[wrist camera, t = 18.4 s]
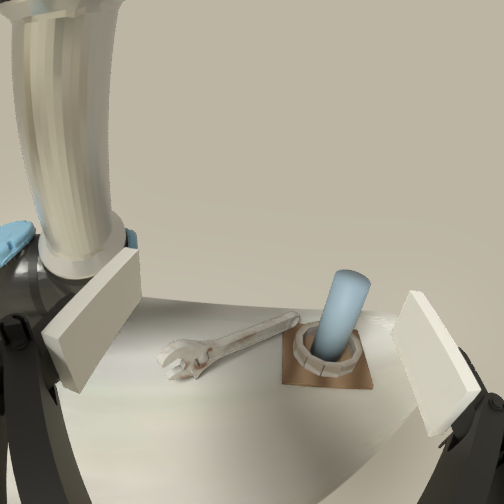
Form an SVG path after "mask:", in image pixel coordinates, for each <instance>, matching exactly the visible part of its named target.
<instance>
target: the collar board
mask: <svg viewBox="0 0 504 504" xmlns="http://www.w3.org/2000/svg"><path fill="white" fill-rule="evenodd" d="M319 322H320V321H318V322H317V321H316V322H312V323H308V324H300V323H298V324H297V325H296V326H295V327H293V328H291V329H288V330H286V331H284V332H283V364H282V384H290V385H301V386H312V387H327V388H346V389H372V388H373V383H372V379H371V376H370V372H369V368H368V365H367V361H366V358H365V354H364V351H363V347H362V344H361V341H360V337H359V334H358V331H357V330H354V329H353V331H352V333H351V336H350V338H349V340H348V343H347V345H346V347H345V349H344V352H343V354H342V356H341V358H340V360H339V361H338V362H325V361H323V360H321V359H319V358H317V357H315V356H313V355H311V352H310V348H311V345H312V343H313V340H314V337H315V334H316V331H317V328H318V325H319Z"/></svg>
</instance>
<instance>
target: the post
mask: <svg viewBox="0 0 504 504" xmlns="http://www.w3.org/2000/svg"><path fill="white" fill-rule="evenodd" d="M370 285H371V283H370V281H369V279H368V278H366V277H365V276H364V275H362V274H360V273H358V272H355V271H352V270H339V271H337V272H336V273H335V276H334V279H333V282H332V286H331V289H330V292H329V295H328V298H327V301H326V304H325V308H324V311H323V314H322V317H321V320H320V322H319V325H318V328H317V331H316V334H315V337H314V340H313V343H312V345H311V348H310V352H311V355H313V356H315V357H317V358H319V359H321V360H323V361H325V362H338V361H339V360H340V358H341V356H342V354H343V352H344V349H345V347H346V345H347V343H348V340H349V338H350V336H351V333H352V331H353V329H354V326H355V324H356V322H357V319H358V317H359V314H360V312H361V309H362V307H363V304H364V302H365V299H366V296H367V294H368V291H369V288H370Z"/></svg>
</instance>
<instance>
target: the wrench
mask: <svg viewBox="0 0 504 504" xmlns="http://www.w3.org/2000/svg"><path fill="white" fill-rule="evenodd" d="M299 320H300V315H298V314H297V313H295V312H294V311H290V312H288V313H286V314H283V315H281V316H278V317H276V318H273V319H271V320H268V321H266V322H263V323H261V324H258V325H255V326H253V327H250V328H248V329H245V330H242V331H240V332H237V333H234V334H232V335H229V336H226V337H223V338H221V339H218V340H212V341H194V340H186V339H180V340H176V341H174V342H171V343H169V344H168V345H167V346H166V347H164V348H163V349H162V350H161V352H160V353H159V354H158V357H157V362H158V363H159V364H160V366H161V367H162V368H164V367H166V366H167V365H169V364H170V363H172V362H173V361H175V360H176V359H178V358H180V359H182V361H181V364H180V365H178V366H176V367H175V368H173V369H171V370H170V371H169V372H167V373H166V377H167V378H168V379H169V380H179V379H185V378H187V377H190V376H193V377H194V378H195V379H197V378H198V376H199V375H200V374H201V372H202V371H203V370H205V369H206V368H207V367H208V366H209V365H211V364H212V363H213V362H215V361H216V360H218V359H219V358H221V357H224V356H226V355H229V354H231V353H234V352H236V351H239V350H241V349H244V348H246V347H248V346H251V345H253V344H256V343H258V342H261V341H263V340H265V339H268V338H270V337H272V336H274V335H277V334H279V333H281V332H284V331H286V330H288V329H291V328H293V327H295V326H296V325H297V324H298V322H299Z"/></svg>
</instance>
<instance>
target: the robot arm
mask: <svg viewBox="0 0 504 504" xmlns="http://www.w3.org/2000/svg"><path fill="white" fill-rule="evenodd" d="M124 1H125V0H0V13H1V14H2V15H4V16H5V17H7V18H8V19H9V20H10V22H11V23H12V76H13V77H12V79H13V92H14V103H15V112H16V119H17V126H18V133H19V139H20V144H21V149H22V155H23V160H24V164H25V169H26V173H27V177H28V181H29V185H30V189H31V193H32V197H33V200H34V204H35V207H36V210H37V214H38V217H39V220H40V223H41V226H42V229H43V230H42V232H41V234H35V233H36V229H35V227H34V225H33V223H32V222H27V221H16V222H12V223H9V224H6V225H3V226H0V504H7V493H6V470H7V449H8V443H9V450H10V456H11V461H12V467H13V472H14V476H15V481H16V485H17V489H18V493H19V497H20V500H21V504H92V502H91V500H90V497H89V495H88V493H87V490H86V488H85V485H84V483H83V480H82V477H81V475H80V472H79V469H78V466H77V463H76V460H75V457H74V454H73V451H72V448H71V444H70V441H69V438H68V434H67V430H66V427H65V423H64V419H63V415H62V410H61V406H60V401H59V397H58V392H57V388H56V386H55V383H56V382H57V381H58V380H61V382H62V385H63V387H65V388H67V389H69V390H72V391H74V392H76V393H79V394H80V392H81V391H82V389H83V387H84V386H85V384H86V383H87V381H88V379H89V378H90V376H91V374H92V373H93V371H94V370H95V368H96V366H97V365H98V363H99V362H100V360H101V359H102V357H103V355H104V354H105V352H106V351H107V349H108V348H109V346H110V345H111V343H112V342H113V340H114V338H115V337H116V335H117V334H118V332H119V331H120V329H121V328H122V326H123V325H124V323H125V322H126V320H127V319H128V318H129V316H130V315H131V313H132V312H133V310H134V309H135V307H136V306H137V304H138V303H139V302H140V300H141V299H142V293H141V280H140V264H139V249H138V246H137V235H136V233H135V232H134V231H133V230H128V229H126V228H124V224H123V222H122V220H121V218H120V217H119V216H118V215H117V214H116V213H115V212H113V211H112V210H111V198H110V182H109V159H108V111H109V87H110V74H111V61H112V52H113V44H114V35H115V28H116V22H117V15H118V10H119V8H120V6H121V4H122V3H123V2H124ZM391 337H392V339H393V341H394V344H395V346H396V349H397V351H398V354H399V356H400V359H401V361H402V364H403V366H404V369H405V371H406V374H407V377H408V379H409V382H410V385H411V387H412V390H413V393H414V395H415V398H416V401H417V404H418V407H419V409H420V413H421V416H422V419H423V422H424V425H425V428H426V431H427V434H428V437H430V436H436V435H442V434H443V433H444V432H445V431H446V430H447V429H448V428H449V427H450V426H451V427H452V430H453V432H452V433H451V434H450V435H449V436H448V437H447V438H446V439H445V440H444V441H443V442H442V443H441V444H440V445H439V448H441V447H442V446H443V445H444V444H445V447H444V449H443V452H442V454H441V457H440V459H439V461H438V463H437V466H436V468H435V470H434V472H433V474H432V476H431V478H430V480H429V482H428V484H427V486H426V488H425V490H424V492H423V494H422V496H421V497H420V499H419V501H418V503H417V504H504V400H503V399H502V398H501V397H500V396H499V395H497V394H495V393H488V392H487V390H486V388H485V386H484V384H483V383H482V381H481V379H480V377H479V375H478V373H477V372H476V371H475V368H474V366H473V365H472V364H471V361H470V360H469V358H468V356H467V354H466V353H465V352H464V351H463V350H462V349H461V348H460V347H457V346H456V344H455V342H454V341H453V339H452V337H451V336H450V334H449V332H448V331H447V329H446V328H445V326H444V324H443V323H442V321H441V320H440V318H439V317H438V315H437V314H436V312H435V311H434V309H433V308H432V306H431V305H430V303H429V302H428V300H427V299H426V297H425V296H424V294H423V293H422V292H418V291H409V293H408V296H407V298H406V301H405V303H404V305H403V307H402V310H401V312H400V314H399V317H398V319H397V321H396V323H395V325H394V327H393V330H392V332H391Z"/></svg>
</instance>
